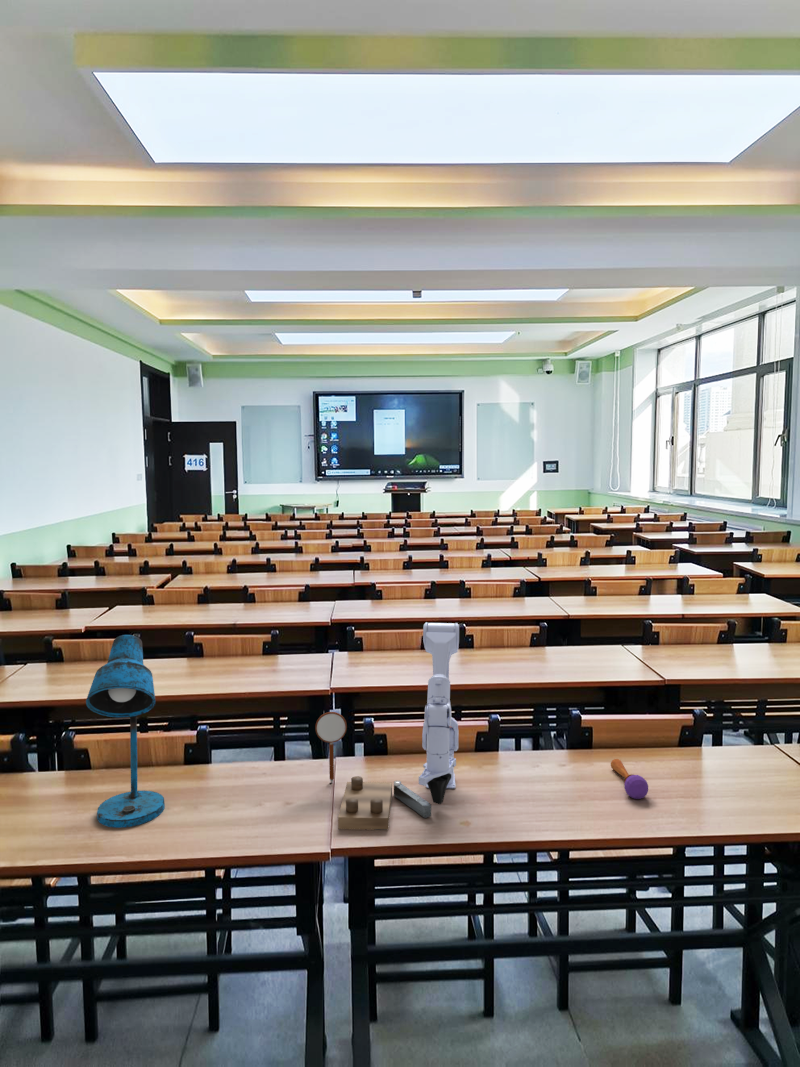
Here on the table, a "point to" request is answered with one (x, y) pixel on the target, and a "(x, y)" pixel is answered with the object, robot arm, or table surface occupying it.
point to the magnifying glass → (331, 733)
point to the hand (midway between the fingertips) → (437, 802)
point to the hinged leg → (412, 799)
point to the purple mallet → (631, 781)
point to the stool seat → (365, 805)
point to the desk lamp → (130, 694)
